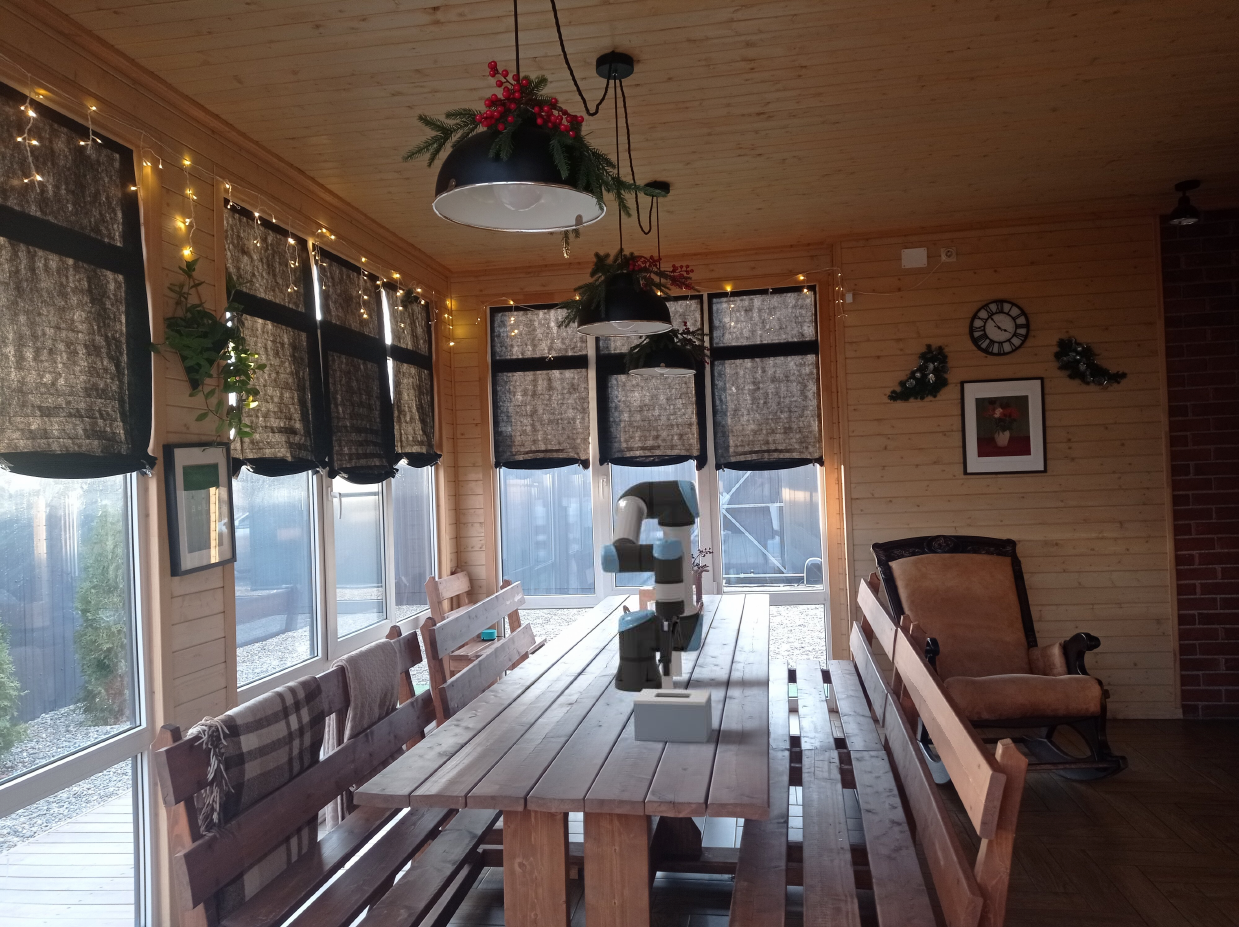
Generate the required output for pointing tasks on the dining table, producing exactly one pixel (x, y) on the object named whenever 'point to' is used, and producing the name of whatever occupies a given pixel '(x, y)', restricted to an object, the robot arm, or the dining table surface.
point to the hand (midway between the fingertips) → (672, 682)
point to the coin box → (673, 715)
